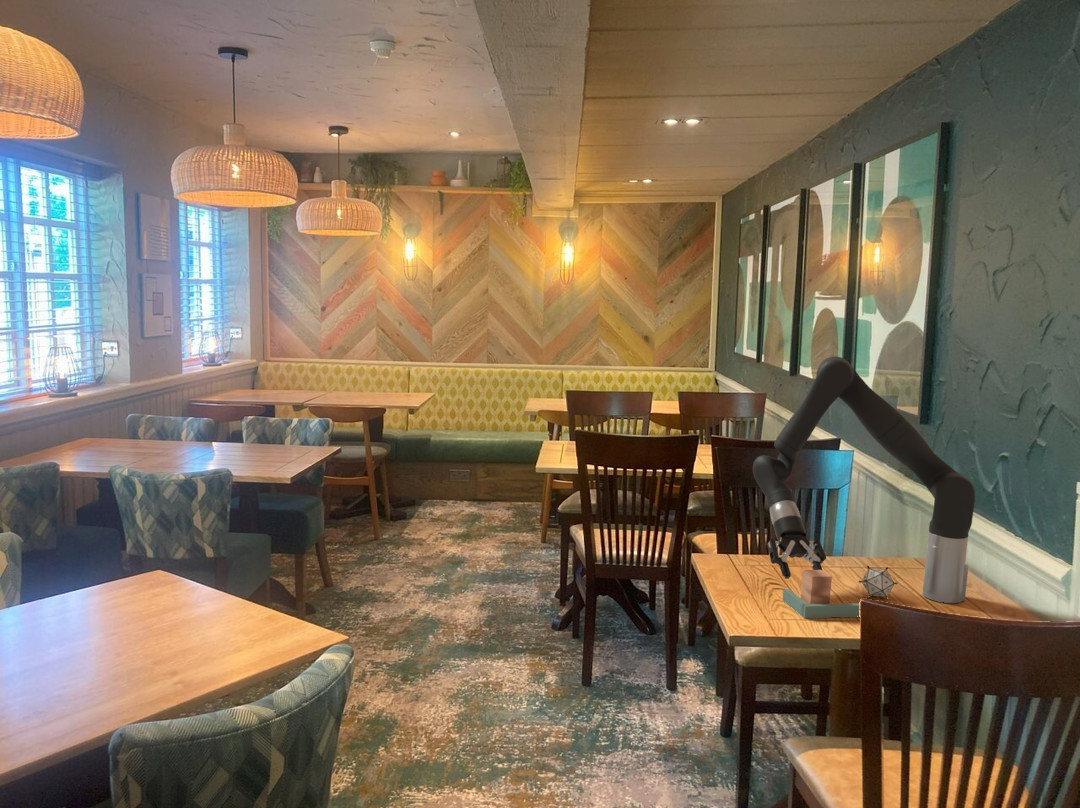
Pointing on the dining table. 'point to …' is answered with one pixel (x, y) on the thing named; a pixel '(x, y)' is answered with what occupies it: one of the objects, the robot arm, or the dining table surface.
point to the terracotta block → (816, 587)
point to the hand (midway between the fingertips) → (804, 577)
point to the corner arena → (819, 607)
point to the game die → (877, 582)
